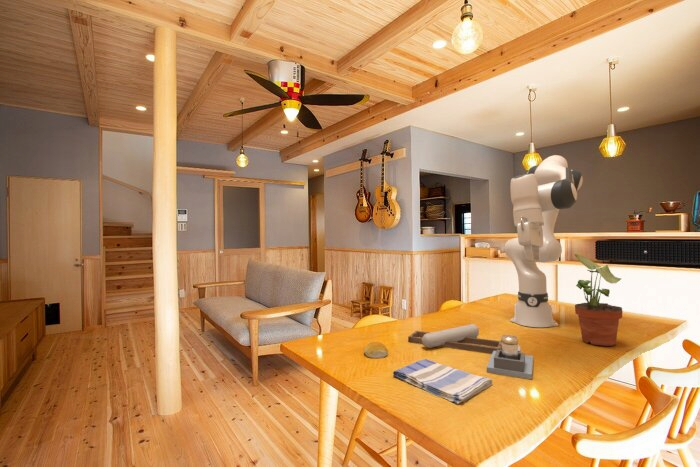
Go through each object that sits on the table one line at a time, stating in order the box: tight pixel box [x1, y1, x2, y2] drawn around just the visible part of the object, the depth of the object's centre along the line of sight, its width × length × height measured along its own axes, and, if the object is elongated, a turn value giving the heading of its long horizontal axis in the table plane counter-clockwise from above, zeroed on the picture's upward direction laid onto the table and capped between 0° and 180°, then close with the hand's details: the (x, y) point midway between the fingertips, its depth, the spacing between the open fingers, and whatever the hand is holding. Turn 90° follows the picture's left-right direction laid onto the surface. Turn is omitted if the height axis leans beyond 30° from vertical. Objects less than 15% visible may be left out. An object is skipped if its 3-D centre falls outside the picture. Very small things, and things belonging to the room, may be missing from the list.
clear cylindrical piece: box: [500, 334, 519, 360], centre depth 104 cm, size 5×5×8 cm
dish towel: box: [392, 358, 493, 405], centre depth 98 cm, size 17×24×3 cm
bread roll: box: [363, 341, 389, 359], centre depth 121 cm, size 8×9×4 cm
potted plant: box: [574, 253, 623, 347], centre depth 125 cm, size 16×15×35 cm
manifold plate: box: [486, 345, 534, 381], centre depth 107 cm, size 16×12×4 cm
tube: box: [421, 323, 480, 349], centre depth 129 cm, size 5×5×25 cm
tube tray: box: [407, 330, 502, 355], centre depth 129 cm, size 9×33×2 cm, turn 60°
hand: (533, 260), depth 114 cm, fingers open, 8 cm apart
